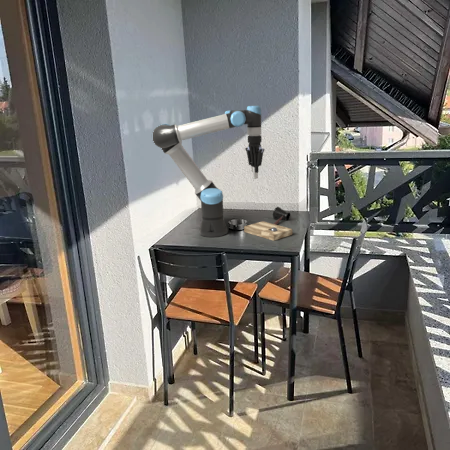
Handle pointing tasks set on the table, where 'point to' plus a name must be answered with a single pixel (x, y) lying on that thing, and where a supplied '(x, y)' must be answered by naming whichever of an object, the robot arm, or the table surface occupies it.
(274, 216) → the coffee pot
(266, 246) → the table surface
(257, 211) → the table surface
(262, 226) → the wooden board
